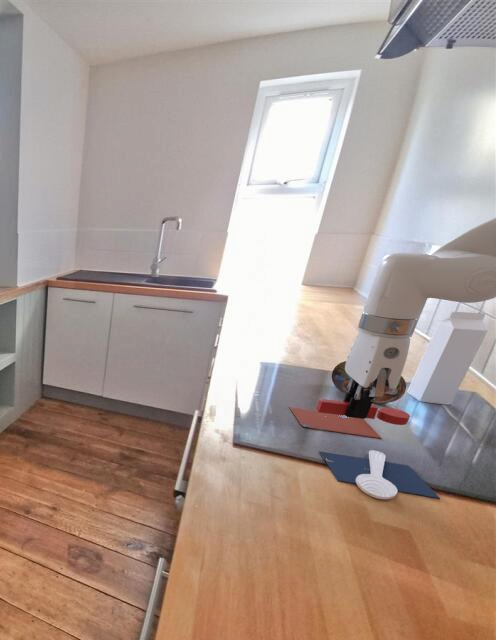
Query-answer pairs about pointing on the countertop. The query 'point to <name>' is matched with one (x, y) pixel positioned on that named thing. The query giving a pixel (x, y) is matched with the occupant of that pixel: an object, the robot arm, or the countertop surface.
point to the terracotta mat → (334, 423)
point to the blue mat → (406, 482)
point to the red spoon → (383, 414)
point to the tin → (342, 380)
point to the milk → (448, 357)
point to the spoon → (376, 478)
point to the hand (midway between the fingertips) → (352, 414)
